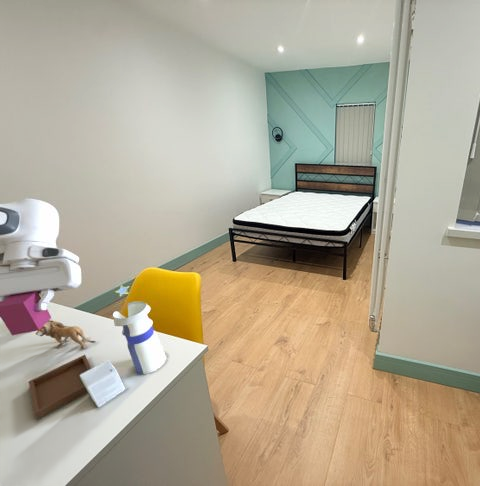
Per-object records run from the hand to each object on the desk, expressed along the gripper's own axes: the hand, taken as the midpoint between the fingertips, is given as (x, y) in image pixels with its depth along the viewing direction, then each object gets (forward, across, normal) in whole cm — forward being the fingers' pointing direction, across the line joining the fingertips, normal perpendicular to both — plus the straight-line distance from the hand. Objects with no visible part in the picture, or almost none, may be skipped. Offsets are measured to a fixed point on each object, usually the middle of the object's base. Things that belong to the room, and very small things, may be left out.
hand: (22, 313), depth 61 cm
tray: (+17, +1, +16) cm, 23 cm away
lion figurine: (+5, -6, +28) cm, 29 cm away
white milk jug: (+17, +20, +16) cm, 31 cm away
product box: (+22, +12, +12) cm, 28 cm away
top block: (+2, 0, +3) cm, 4 cm away
